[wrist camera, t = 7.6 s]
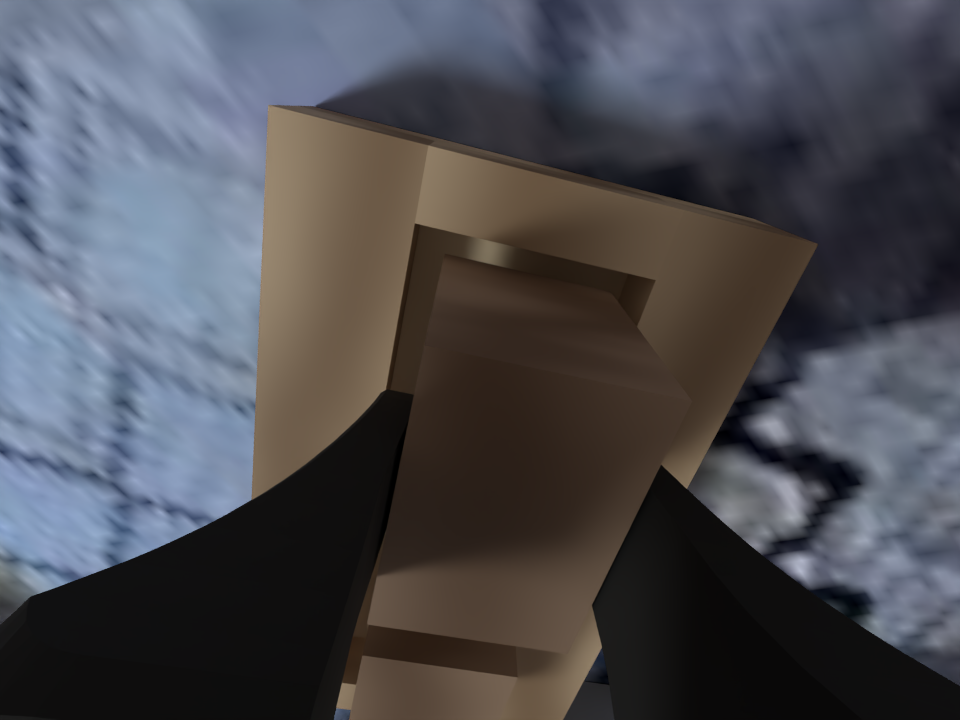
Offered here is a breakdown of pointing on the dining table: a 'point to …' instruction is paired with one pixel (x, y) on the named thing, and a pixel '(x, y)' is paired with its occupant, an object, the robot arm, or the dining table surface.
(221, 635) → the robot arm
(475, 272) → the walnut block
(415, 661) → the seated walnut block
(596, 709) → the button console
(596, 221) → the wooden stepped tray
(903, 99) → the dining table surface
